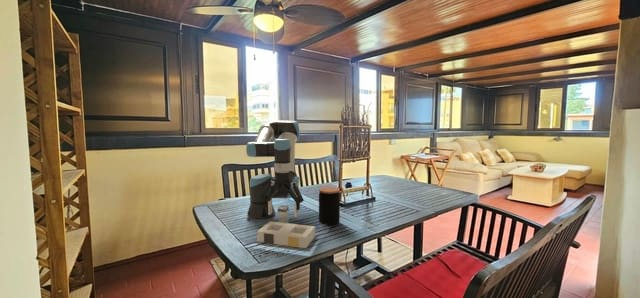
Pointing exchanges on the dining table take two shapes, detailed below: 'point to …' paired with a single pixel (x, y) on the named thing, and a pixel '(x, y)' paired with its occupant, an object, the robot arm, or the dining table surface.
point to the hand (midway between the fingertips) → (283, 215)
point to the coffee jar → (329, 205)
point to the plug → (283, 214)
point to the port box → (286, 234)
